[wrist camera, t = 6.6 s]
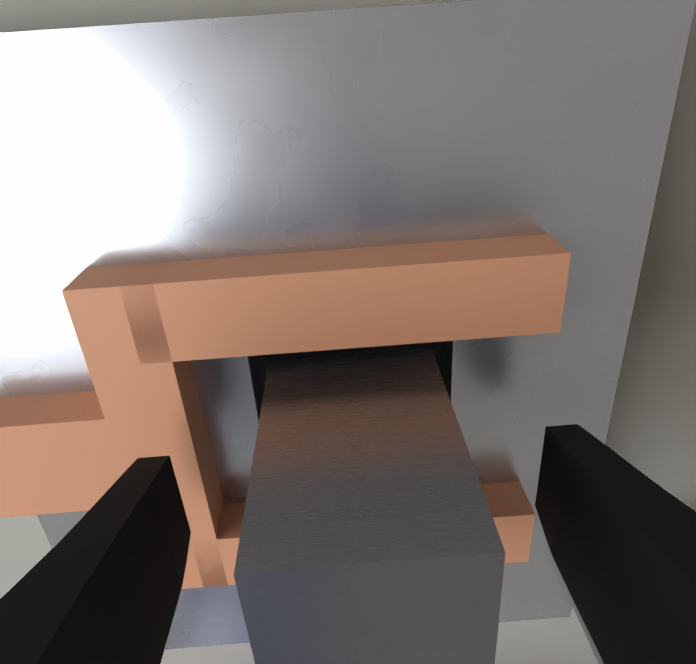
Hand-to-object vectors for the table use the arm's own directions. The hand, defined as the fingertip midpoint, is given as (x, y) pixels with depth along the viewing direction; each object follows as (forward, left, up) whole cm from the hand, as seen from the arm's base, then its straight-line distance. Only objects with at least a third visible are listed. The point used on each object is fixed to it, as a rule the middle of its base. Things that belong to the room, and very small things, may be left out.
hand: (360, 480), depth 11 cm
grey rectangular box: (0, 0, -5) cm, 5 cm away
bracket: (0, +2, -2) cm, 3 cm away
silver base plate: (0, +1, -5) cm, 5 cm away
